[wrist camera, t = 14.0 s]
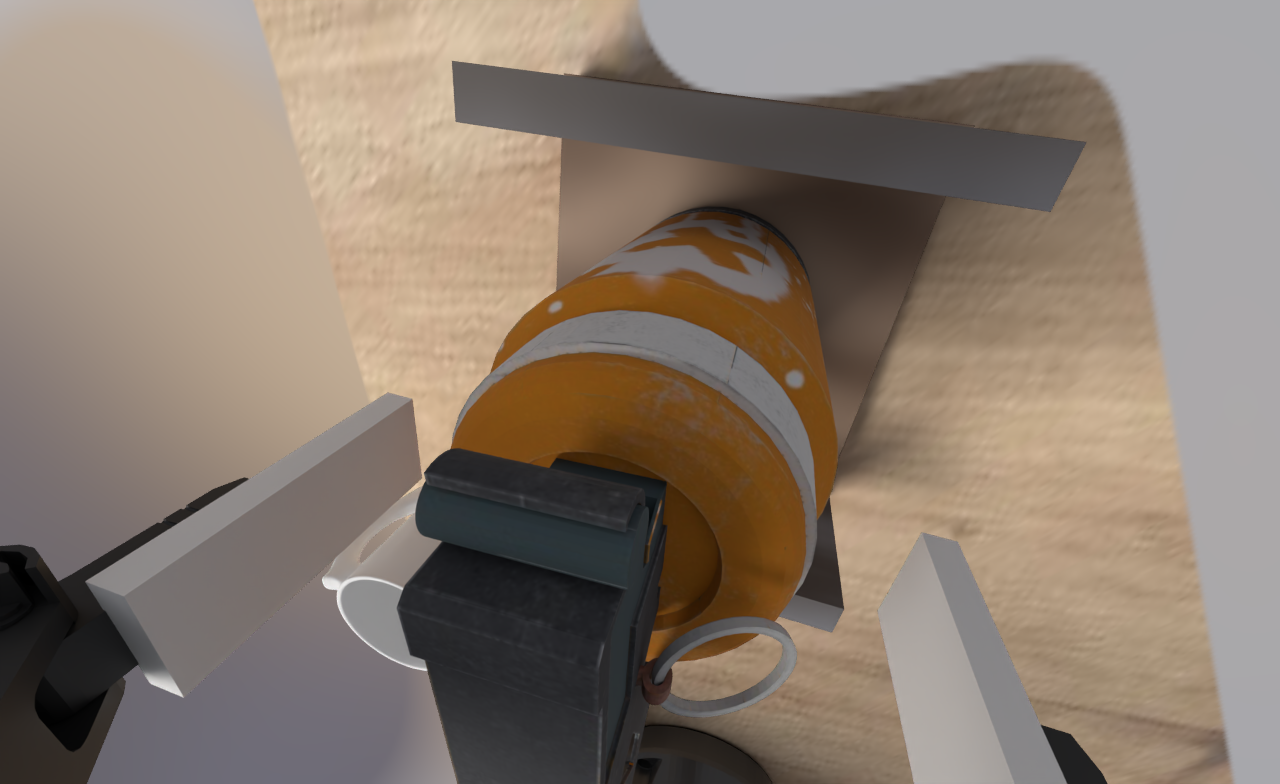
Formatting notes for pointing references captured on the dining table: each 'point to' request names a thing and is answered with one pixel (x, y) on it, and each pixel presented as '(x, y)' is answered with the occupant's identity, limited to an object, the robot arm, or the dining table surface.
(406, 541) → the mug
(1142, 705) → the dining table surface
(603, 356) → the canister
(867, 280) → the holder
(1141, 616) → the dining table surface
